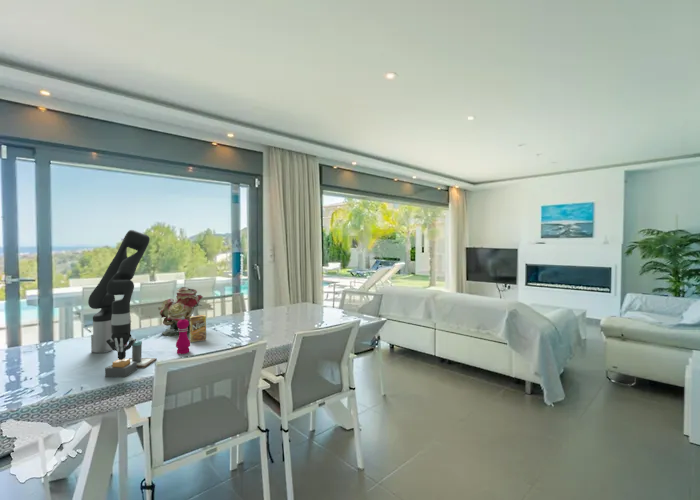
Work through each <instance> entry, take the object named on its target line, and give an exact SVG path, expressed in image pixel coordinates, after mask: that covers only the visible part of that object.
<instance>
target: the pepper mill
mask: <svg viewBox="0 0 700 500" xmlns="http://www.w3.org/2000/svg"><path fill="white" fill-rule="evenodd" d="M188 326H189V322H188V320H186V319H185V317H181V320H179V321H178V322H177V327H178V331H179V335H178V338H177V340H176V343H175V347H176V348H177V349H176V353H177V354H178V355H185V354H188V353H190V348H189V347H191V342H190V338H189V336H188V334H187V331H188V328H187V327H188Z"/></svg>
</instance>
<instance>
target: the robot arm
mask: <svg viewBox="0 0 700 500" xmlns="http://www.w3.org/2000/svg"><path fill="white" fill-rule="evenodd" d="M150 239H151V238H150V236H149V235H147V234H145V233H143V232H140V231H137V230H134V229H130V230H128V231H127V232H126V234H125V235H124V237H123V239H122V242H121V243H120V246H119V248H118V249H117V252H116V253H115V256H114V257H113V259H112V260H111V261H110V264H109V265H108V267H107V269H106V271H105V272H104V275H102V277H101V279H100V281H99V282H98V284H97V285H96V286H95V288H94V289H93V290H92V292H91V293H90V295H89V297H88V301H87V302H88V306H89V308H91V309H93V310H99V309H100V310H99V311H98V312H97V313H95V314H94V315H93V316H92V334H91V335H90V338H91V339H90V340H91V341H90V343H91V347H90V349H91V350H90V351H91V353H94V354H103V353H108V352H111V351H116V353H117V359H119V360H123V359H126V358H127V357H126V356H127V353H126V351H128V350H130V349H131V348H132V345H133V344H134V343H135V341H137V339H136V338H134V337H132V334H131V332H132V331H131V330H132V324H131V323H132V321H131V319H132V318H131V306H130V305H131V299H132V295H133V293H134V289H135V283H134V282H133V281H132V279H134V276H135V273H136V271H137V268H138V265H139V263H140V261H141V260H142V259H143V258H142V257H143V256H144V254H145V252H146V250H147V248H148V246H149V243H150ZM128 248H129V249H132V250H135V251H136V252H134V253H133V254H131V255H130V256H128V254H127V252H128V251H127V250H128ZM115 296H122V298H121V299H116V297H115Z"/></svg>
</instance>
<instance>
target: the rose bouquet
mask: <svg viewBox="0 0 700 500" xmlns="http://www.w3.org/2000/svg"><path fill="white" fill-rule="evenodd" d="M176 291H177V292H176V296H175V298H176V300H177V301H175V300H174V299H173V298H171V297H170V298H167V299H165V300H164V301H162V303H161V304H160V307H158V311H160V312H159V315H160V317H161V318H162V324H163V325H164V326H169V327H168V328H166V329H165V331H163V332H162V334H163V335H164V337H174V336H175V337H176V336H179V331H178V327H177V322H178V321H179V320H181V317H185V319H186V320H188V322H189V326H188V327H187V328H188V331H187V335H190V316H192V315H193V314H194V311H195V308H196V307H203V305H202V304H199V303H201V302H200V300H202V299H203V298H204V296H202V294H198V295H197V293H198V291H197V290H196V289H193V288H189V287H186V286H181V287H180V288H178V289H176Z"/></svg>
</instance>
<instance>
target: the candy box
mask: <svg viewBox="0 0 700 500" xmlns="http://www.w3.org/2000/svg"><path fill="white" fill-rule="evenodd" d="M189 340H190V343H196V342H202V341H207V315H205V314H201V315H200V314H198V315H193V316H190V333H189Z"/></svg>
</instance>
